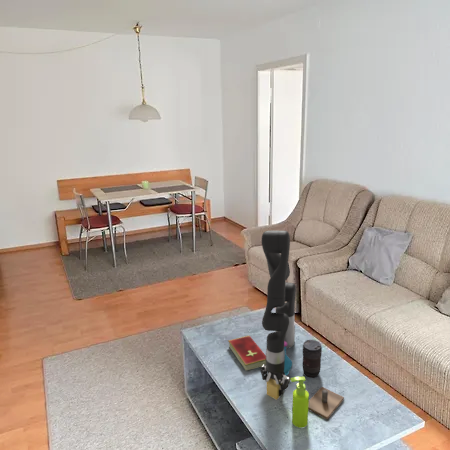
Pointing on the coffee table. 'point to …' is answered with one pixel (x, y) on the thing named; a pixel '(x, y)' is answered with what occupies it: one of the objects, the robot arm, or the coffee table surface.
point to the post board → (325, 406)
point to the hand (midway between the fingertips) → (274, 392)
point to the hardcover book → (247, 352)
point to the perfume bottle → (287, 361)
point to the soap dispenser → (300, 403)
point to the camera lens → (311, 358)
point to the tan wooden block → (273, 389)
